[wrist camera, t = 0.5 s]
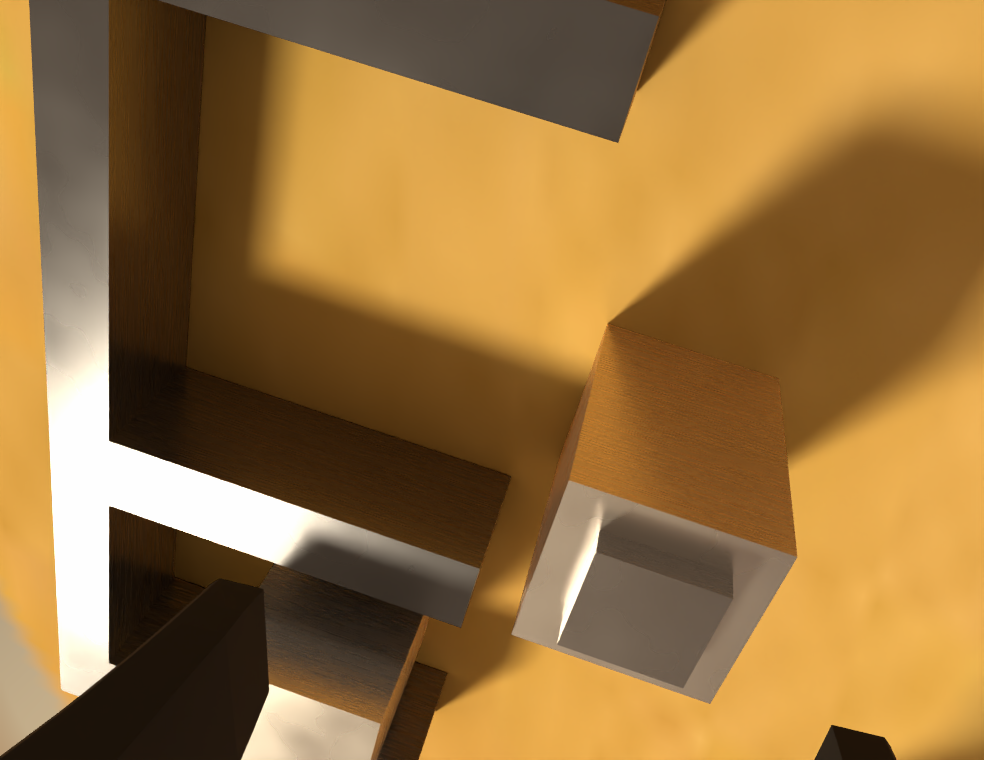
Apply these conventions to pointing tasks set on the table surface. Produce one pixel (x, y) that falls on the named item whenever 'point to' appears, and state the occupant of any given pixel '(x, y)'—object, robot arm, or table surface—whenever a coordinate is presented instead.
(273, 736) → the seated block
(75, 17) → the rail
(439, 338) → the table surface
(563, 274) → the table surface
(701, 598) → the block
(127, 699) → the robot arm
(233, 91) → the table surface
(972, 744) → the table surface
